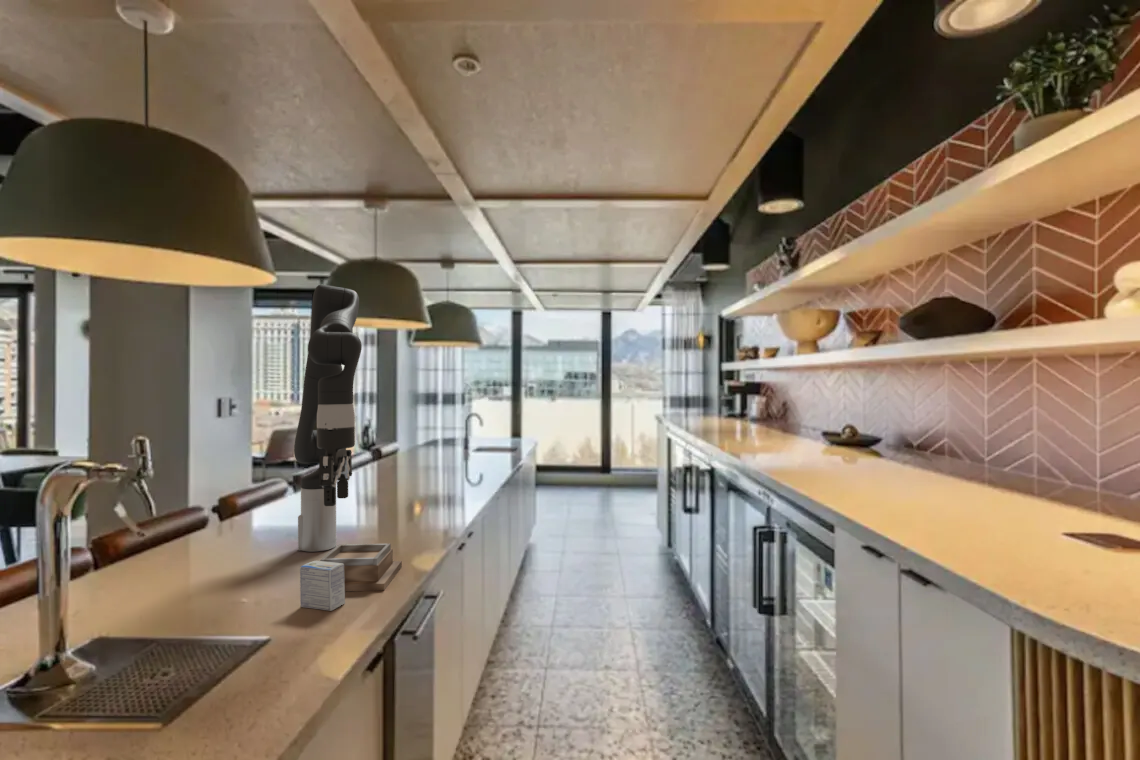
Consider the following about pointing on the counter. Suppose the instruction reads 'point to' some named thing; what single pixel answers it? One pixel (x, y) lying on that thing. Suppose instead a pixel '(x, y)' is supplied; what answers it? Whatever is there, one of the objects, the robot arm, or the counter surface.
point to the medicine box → (322, 585)
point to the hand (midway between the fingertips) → (336, 501)
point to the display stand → (365, 565)
